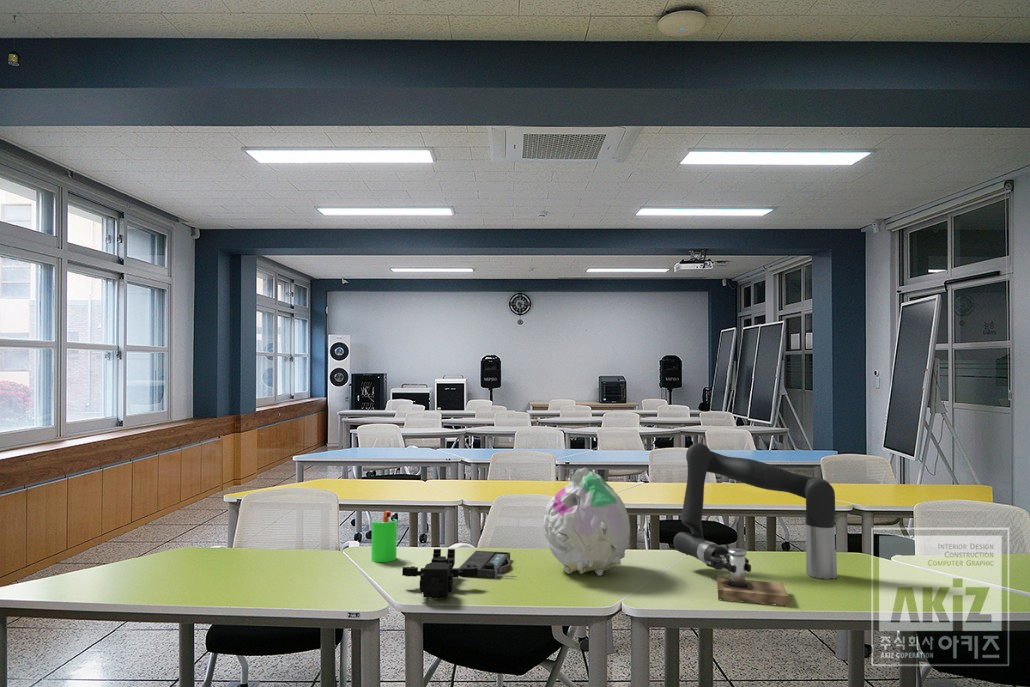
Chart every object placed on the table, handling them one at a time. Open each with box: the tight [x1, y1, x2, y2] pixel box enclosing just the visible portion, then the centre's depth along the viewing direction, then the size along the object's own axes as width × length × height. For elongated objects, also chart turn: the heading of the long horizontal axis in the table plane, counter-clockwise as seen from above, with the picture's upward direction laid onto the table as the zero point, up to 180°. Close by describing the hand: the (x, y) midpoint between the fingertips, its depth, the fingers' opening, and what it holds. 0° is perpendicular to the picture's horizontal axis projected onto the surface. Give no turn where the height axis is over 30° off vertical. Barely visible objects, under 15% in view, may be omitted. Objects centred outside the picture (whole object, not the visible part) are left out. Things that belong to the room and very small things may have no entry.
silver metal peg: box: [727, 547, 747, 588], centre depth 208 cm, size 5×5×12 cm
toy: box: [401, 548, 478, 599], centre depth 210 cm, size 24×10×30 cm
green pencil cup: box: [370, 510, 398, 563], centre depth 246 cm, size 9×8×18 cm
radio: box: [458, 550, 518, 580], centre depth 235 cm, size 25×4×20 cm
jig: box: [716, 577, 789, 607], centre depth 206 cm, size 20×14×3 cm
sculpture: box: [543, 467, 631, 577], centre depth 234 cm, size 33×36×30 cm
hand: (742, 568), depth 206 cm, fingers closed on silver metal peg, 4 cm apart
